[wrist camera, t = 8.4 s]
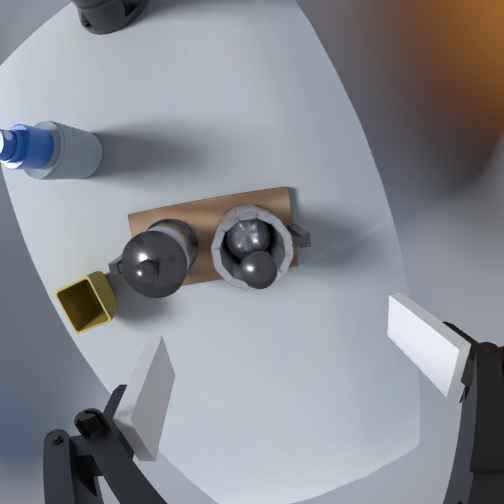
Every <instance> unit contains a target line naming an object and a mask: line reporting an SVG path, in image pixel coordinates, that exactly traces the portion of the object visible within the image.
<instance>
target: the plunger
mask: <svg viewBox="0 0 504 504" xmlns="http://www.w3.org/2000/svg"><path fill="white" fill-rule="evenodd" d="M269 242H270V234H269V230H268V228H267V226H266V225H265V224H264V223H263V222H262V221H261V220H259V219H257V218H255V219H249V220H243V221H239V222H237V223H236V224H235V225H234V226H232V227H231V228H230V229H229V230H228V232H227V244H228V247H229V249H230V251H231V252H232V253H233V254H234V255H235V256H237V257H239V258H241V259H242V261H241V269H242V276H243V279H244V281H245V282H246V284H247V285H248V286H250V287H252V288H255V289H264V288H267V287H269V286H270V285H271V284H272V283H273V282H274V281H275V279H276V277H277V267H276V264H275V263H274V261H273V259H272V257H271V256H270V254H269V253H268V252H267V251H266V250H267V248H268V246H269Z"/></svg>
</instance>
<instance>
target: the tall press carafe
mask: <svg viewBox="0 0 504 504" xmlns="http://www.w3.org/2000/svg"><path fill="white" fill-rule="evenodd" d="M255 218H257V219H259V220H261V221H262V222H263V223H264V224H265V225H266V226H267V228H268V230H269V234H270V242H269V246H268V248H267V250H266V251H267V252H268V253H269V254H270V256H271V257H272V259H273V261H274V263H275V264H276V267H277V277H276V279H275V281H274V282H273V283H272V284H271V285H273V284H274V283H275V282H277V281H278V280H279V279H280V278H282V277H283V276H284V275H285V274H286V272H287V270H288V267H289V265H290V263H291V260H292V258H293V247H296V246H300V247H301V248H302V247H308V246H311V242H310V233H309V232H307V231H305V230H304V229H302V228H301V227H299V226H297V225H296V224H292V225H287V227H285V226H284V225H283V224H282V222H281V221H280V220H279V219H278V218H277V217H276V216H274V215H273V214H271V213H270V212H269V211H267V210H266V209H264V208H262V207H260V206H257V205H254V204H241V205H237V206H234V207H232V208H231V209H229V210H228V211H227V212H226V213H225V214H224V215H223V216H222V217H221V219H220V221H219V223H218V226H217V230H216V233H215V236H214V239H213V243H212V246H211V251H212V256H213V261H214V267H215V269H216V270H217V271H218V273H219V274H220V275H221V276H222V277H223V278H224V279H225V281H226V282H227V283H228V284H230V285H233V286H235V287H238V288H241V289H244V290H247V291H248V289H249V291H251V290H257V289H255V288H252V287H250V286H248V285H247V284H246V282H245V281H244V279H243V276H242V269H241V261H242V259H241V258H239V257H237V256H235V255H234V254H233V253H232V252H231V251H230V249H229V247H228V244H227V232H228V230H229V229H230V228H231V227H232V226H234V225H235V224H236V223H237V222H239V221H243V220H249V219H255ZM271 285H270V286H271ZM270 286H269V287H270ZM267 288H268V287H267Z"/></svg>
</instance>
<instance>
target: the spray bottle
mask: <svg viewBox="0 0 504 504" xmlns="http://www.w3.org/2000/svg"><path fill="white" fill-rule="evenodd" d="M102 157H103V148H102V144H101V142H100V140H99V139H98V137H96V136H95V135H94V134H92V133H89V132H86V131H82V130H79V129H76V128H73V127H70V126H67V125H63V124H60V123H57V122H52V121H44V122H41V123H38V124H37V125H35V126H34V127H32V126H27V125H22V124H18V125H15V126H13V127H12V128H11V129H10V128H9V129H6V130H2V129H0V162H2V163H4V165H5V166H6V167H7V168H9V169H24V170H25V172H26V173H27V174H28V175H29V176H30V177H33V178H35V179H38V180H47V179H84V178H87V177H89V176H91V175H92V174H93V173H94V172H96V171H97V169H98V167H99V166H100V164H101V160H102Z"/></svg>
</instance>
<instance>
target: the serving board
mask: <svg viewBox="0 0 504 504" xmlns="http://www.w3.org/2000/svg"><path fill="white" fill-rule="evenodd" d="M241 204H254V205H257V206H260V207H262V208H264V209H266V210H267V211H269V212H270V213H271V214H273V215H274V216H276V217H277V218H278V219H279V220H280V221H281V222H282V224H283V225H284V226H285V227H287V225H292V224H293V222H292V214H291V207H290V200H289V192H288V187H279V188H272V189H265V190H258V191H252V192H245V193H239V194H233V195H227V196H221V197H215V198H209V199H203V200H198V201H192V202H187V203H181V204H176V205H171V206H166V207H161V208H156V209H151V210H146V211H142V212H137V213H132V214H129V215H128V219H129V225H130V229H131V234H132V238H133V237H134V236H136V235H138V234H139V233H142V232H145V231H146V230H147V229H148V228H149V227H150V226H151V225H152V224H154V223H155V222H157V221H160V220H163V219H176V220H179V221H182V222H183V223H185V224H186V225H188V226H189V227H190V228H191V229H192V231H193V232H194V234H195V236H196V238H197V242H198V254H197V258H196V260H195V262H194V264H193V266H192V267H191V268H190V269H189V270H188V271H187V274H186V277H185V280H184V282H183V284H182V285H184V284H191V283H197V282H204V281H210V280H216V279H223V277H222V276H221V275H220V274H219V273H218V271H217V270H216V269H215V267H214V261H213V256H212V251H211V246H212V243H213V239H214V236H215V233H216V230H217V226H218V223H219V221H220V219H221V217H222V216H223V215H224V214H225V213H226V212H227V211H228V210H229V209H231V208H232V207H234V206H237V205H241ZM294 266H298V264H297V255H296V247H293V258H292V260H291V263H290V265H289V267H294Z"/></svg>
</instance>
